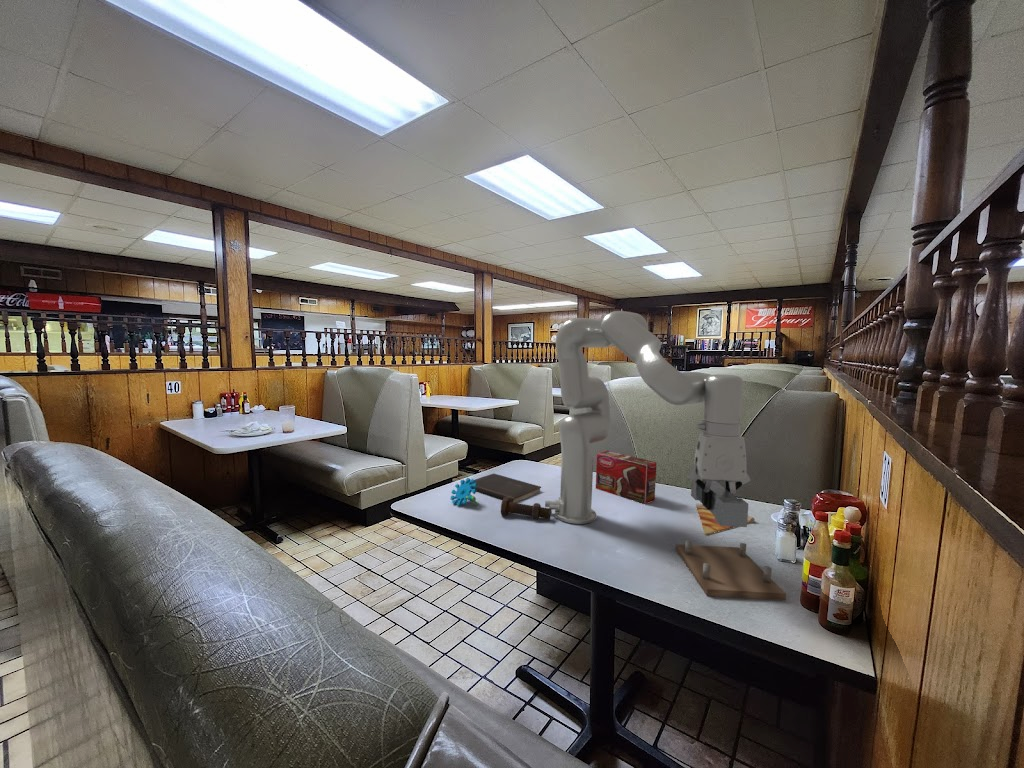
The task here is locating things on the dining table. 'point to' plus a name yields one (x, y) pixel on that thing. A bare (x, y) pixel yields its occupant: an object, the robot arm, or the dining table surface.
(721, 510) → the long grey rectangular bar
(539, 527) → the dining table surface
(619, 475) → the ice cream box
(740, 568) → the peg rack
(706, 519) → the pizza slice
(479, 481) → the hardcover book
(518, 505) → the bolt
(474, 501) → the gear
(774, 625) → the dining table surface
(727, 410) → the robot arm
